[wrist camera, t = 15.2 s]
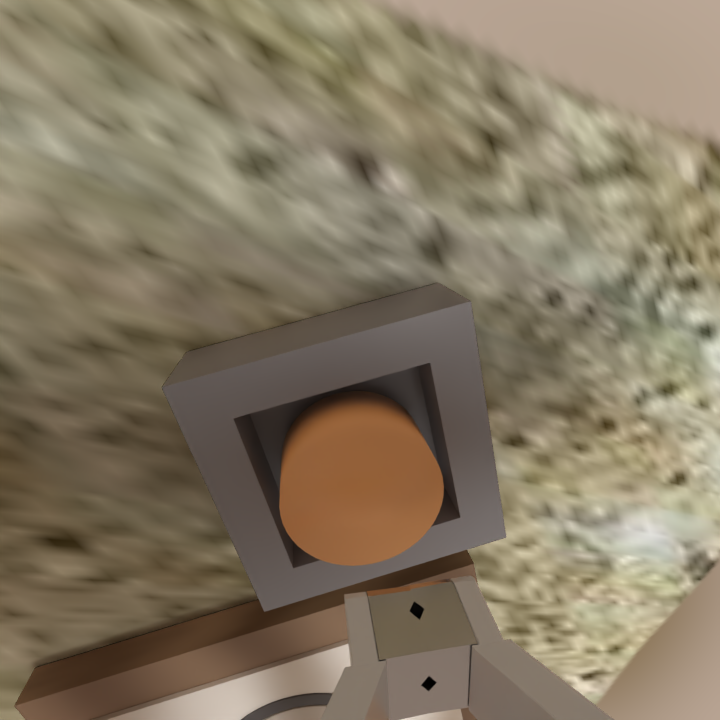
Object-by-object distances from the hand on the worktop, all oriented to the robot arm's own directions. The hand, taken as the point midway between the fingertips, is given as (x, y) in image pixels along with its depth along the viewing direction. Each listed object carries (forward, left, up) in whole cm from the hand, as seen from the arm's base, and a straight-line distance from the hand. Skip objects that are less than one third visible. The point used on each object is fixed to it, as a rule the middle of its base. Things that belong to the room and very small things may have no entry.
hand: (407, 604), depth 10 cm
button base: (0, +1, -8) cm, 8 cm away
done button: (0, +1, -5) cm, 6 cm away
